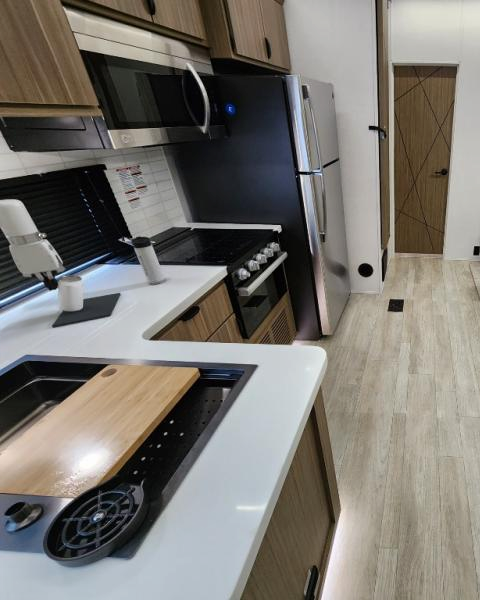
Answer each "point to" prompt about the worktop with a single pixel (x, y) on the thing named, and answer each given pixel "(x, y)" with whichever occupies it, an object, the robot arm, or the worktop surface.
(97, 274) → the worktop surface
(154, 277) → the travel mug
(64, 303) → the can
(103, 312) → the mat
